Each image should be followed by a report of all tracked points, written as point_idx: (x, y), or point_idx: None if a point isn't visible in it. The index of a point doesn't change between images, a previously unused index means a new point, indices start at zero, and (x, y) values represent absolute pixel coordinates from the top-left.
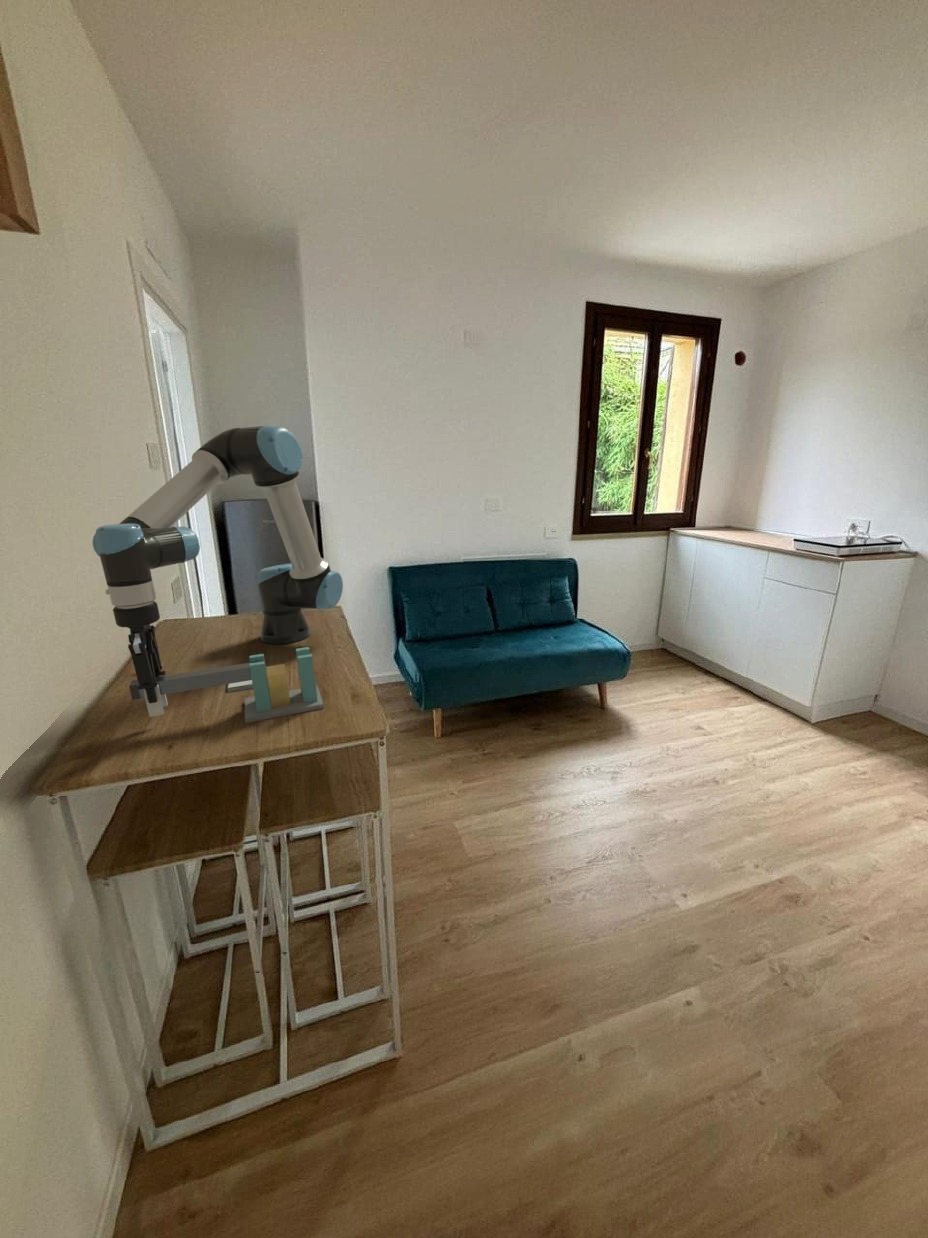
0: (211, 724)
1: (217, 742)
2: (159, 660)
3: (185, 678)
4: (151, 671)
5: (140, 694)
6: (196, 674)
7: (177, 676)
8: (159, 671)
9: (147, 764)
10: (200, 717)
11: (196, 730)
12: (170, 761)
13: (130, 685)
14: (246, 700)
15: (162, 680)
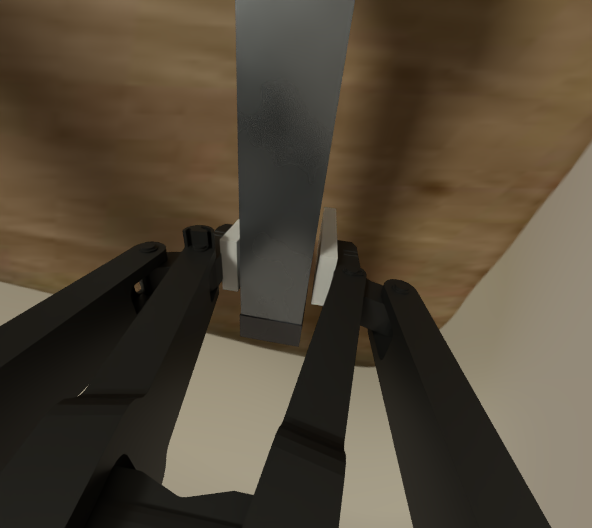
0: (367, 56)
1: (534, 37)
2: (122, 272)
3: (334, 117)
4: (413, 344)
5: (306, 295)
6: (321, 19)
7: (287, 167)
8: (211, 258)
9: (484, 237)
10: None
11: (379, 113)
12: (522, 190)
13: (296, 343)
14: None
15: (306, 242)
